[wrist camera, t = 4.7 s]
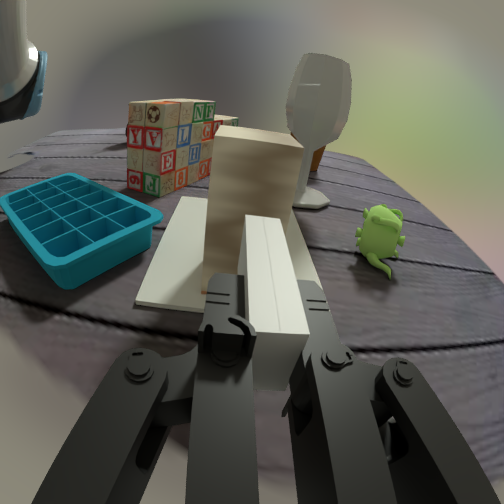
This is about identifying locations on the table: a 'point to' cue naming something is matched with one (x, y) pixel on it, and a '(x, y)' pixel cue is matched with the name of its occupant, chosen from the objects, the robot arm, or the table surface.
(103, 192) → the ice cube tray
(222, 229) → the birch block
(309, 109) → the wineglass
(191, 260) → the rubber mat
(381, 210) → the green monster figurine
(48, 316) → the table surface
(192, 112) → the stack of blocks
